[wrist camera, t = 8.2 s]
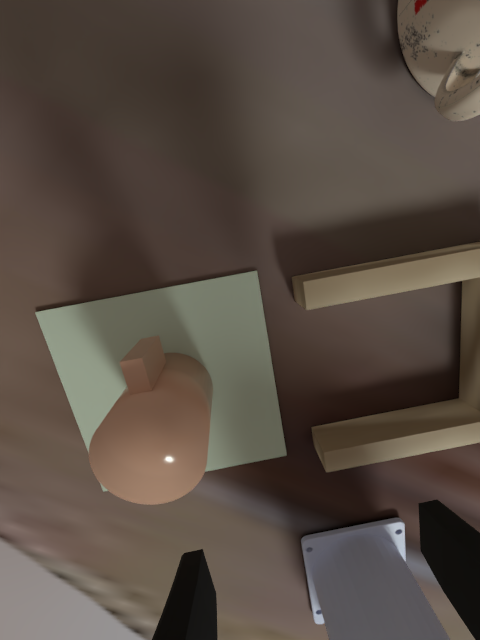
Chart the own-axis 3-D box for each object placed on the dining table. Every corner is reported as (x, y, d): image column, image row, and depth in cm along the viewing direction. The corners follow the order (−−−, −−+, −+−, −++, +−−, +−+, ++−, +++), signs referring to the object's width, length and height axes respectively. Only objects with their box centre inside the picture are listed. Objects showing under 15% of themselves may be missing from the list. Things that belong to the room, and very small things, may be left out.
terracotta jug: (220, 415, 19) (217, 492, 13) (145, 430, 19) (109, 513, 13) (197, 320, 17) (183, 359, 11) (115, 336, 17) (58, 384, 11)
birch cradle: (479, 412, 20) (514, 435, 18) (313, 445, 20) (326, 472, 17) (487, 240, 17) (531, 238, 14) (291, 276, 17) (303, 282, 14)
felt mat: (286, 453, 20) (287, 455, 20) (104, 489, 20) (103, 491, 20) (256, 270, 17) (257, 270, 16) (37, 311, 16) (35, 312, 16)
